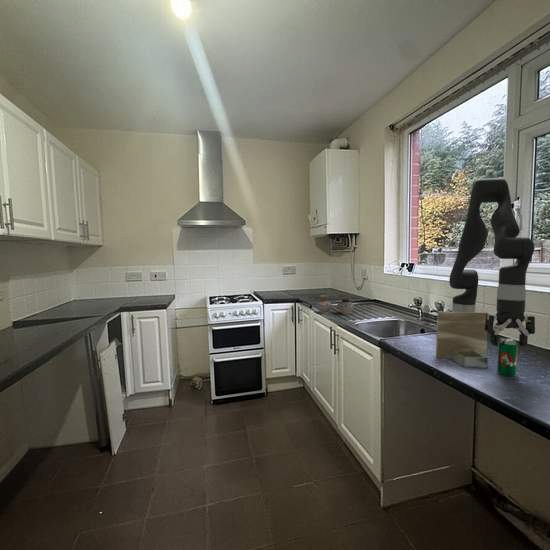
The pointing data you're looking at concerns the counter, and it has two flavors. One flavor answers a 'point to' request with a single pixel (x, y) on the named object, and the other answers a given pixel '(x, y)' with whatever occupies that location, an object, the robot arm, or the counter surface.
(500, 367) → the soda can
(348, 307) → the pottery
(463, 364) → the can holder
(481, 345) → the wall board
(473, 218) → the robot arm
